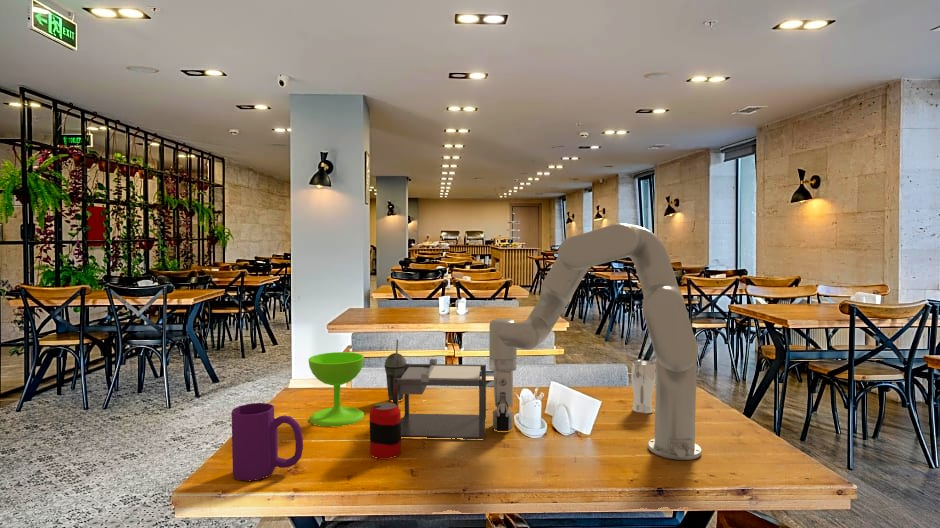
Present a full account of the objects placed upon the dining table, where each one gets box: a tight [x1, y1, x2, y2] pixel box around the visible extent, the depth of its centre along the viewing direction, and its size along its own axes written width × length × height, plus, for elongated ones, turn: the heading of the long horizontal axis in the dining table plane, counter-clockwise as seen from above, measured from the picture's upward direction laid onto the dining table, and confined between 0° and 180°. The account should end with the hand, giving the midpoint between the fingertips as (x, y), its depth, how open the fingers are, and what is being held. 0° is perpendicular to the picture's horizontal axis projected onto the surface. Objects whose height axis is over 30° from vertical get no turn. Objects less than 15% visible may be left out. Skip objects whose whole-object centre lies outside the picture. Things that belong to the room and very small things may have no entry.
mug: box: [231, 402, 304, 482], centre depth 126 cm, size 9×16×15 cm, turn 94°
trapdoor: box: [400, 364, 481, 395], centre depth 155 cm, size 15×21×5 cm
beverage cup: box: [383, 339, 407, 401], centre depth 182 cm, size 7×7×20 cm
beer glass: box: [630, 359, 656, 415], centre depth 171 cm, size 7×7×15 cm
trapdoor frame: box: [392, 358, 487, 440], centre depth 156 cm, size 18×24×18 cm
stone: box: [492, 408, 514, 431], centre depth 155 cm, size 6×6×5 cm
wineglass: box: [308, 351, 365, 427], centre depth 165 cm, size 16×16×18 cm
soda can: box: [369, 402, 402, 458], centre depth 138 cm, size 8×8×12 cm
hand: (502, 424), depth 155 cm, fingers open, 9 cm apart
